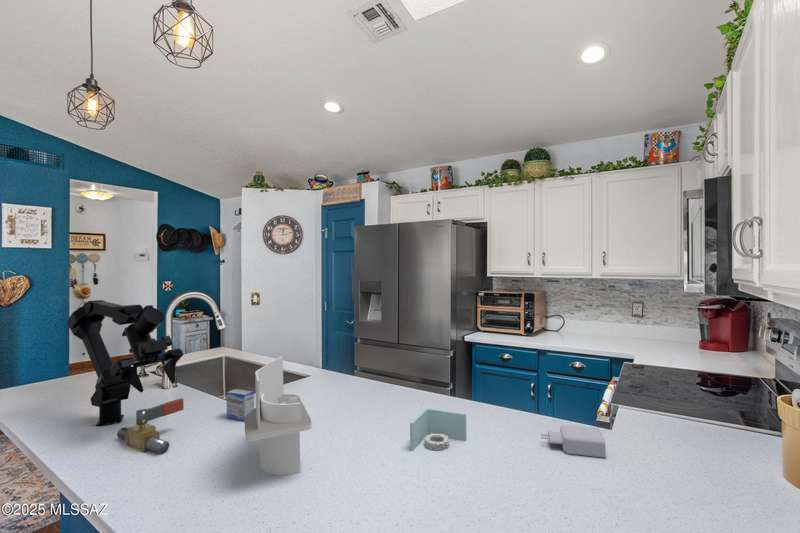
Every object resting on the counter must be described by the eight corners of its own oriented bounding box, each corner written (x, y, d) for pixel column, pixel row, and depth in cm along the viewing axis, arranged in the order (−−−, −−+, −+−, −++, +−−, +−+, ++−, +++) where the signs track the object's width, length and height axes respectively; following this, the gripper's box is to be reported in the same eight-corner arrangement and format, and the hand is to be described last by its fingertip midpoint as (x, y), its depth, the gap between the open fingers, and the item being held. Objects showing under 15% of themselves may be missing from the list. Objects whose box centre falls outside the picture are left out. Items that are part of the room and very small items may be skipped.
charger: (539, 437, 111) (598, 443, 107) (542, 452, 103) (605, 459, 98) (539, 420, 111) (597, 426, 107) (541, 434, 103) (605, 440, 98)
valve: (115, 441, 113) (115, 420, 113) (130, 435, 116) (130, 415, 116) (155, 456, 103) (155, 433, 103) (170, 450, 107) (170, 428, 107)
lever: (134, 424, 109) (134, 411, 109) (179, 409, 120) (179, 397, 120) (139, 425, 108) (139, 413, 108) (184, 410, 119) (184, 398, 119)
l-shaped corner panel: (410, 451, 105) (409, 422, 105) (426, 433, 116) (426, 407, 115) (454, 459, 100) (453, 430, 100) (466, 440, 110) (466, 413, 110)
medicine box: (226, 418, 128) (225, 392, 128) (236, 413, 132) (236, 388, 132) (245, 422, 125) (244, 394, 125) (255, 417, 130) (254, 390, 129)
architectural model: (332, 475, 93) (330, 376, 93) (235, 497, 85) (233, 388, 85) (310, 430, 119) (309, 352, 119) (234, 443, 110) (232, 360, 110)
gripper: (119, 332, 109) (137, 383, 105) (183, 323, 126) (201, 366, 121) (101, 352, 113) (119, 401, 109) (165, 341, 130) (183, 383, 126)
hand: (158, 387), depth 116 cm, fingers open, 9 cm apart
